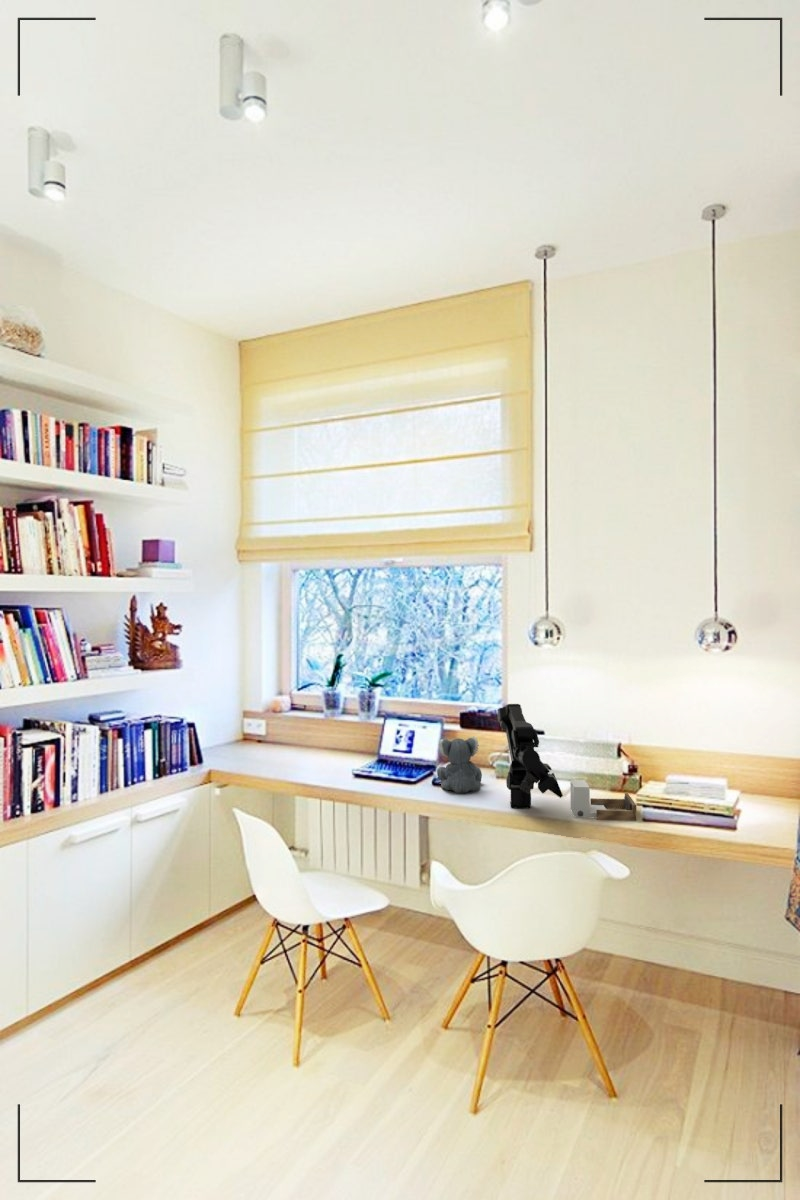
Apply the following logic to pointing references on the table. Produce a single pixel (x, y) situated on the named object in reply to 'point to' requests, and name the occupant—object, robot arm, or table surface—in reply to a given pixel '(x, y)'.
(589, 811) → the grey block with dot
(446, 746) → the koala plush
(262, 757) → the table surface
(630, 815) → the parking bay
